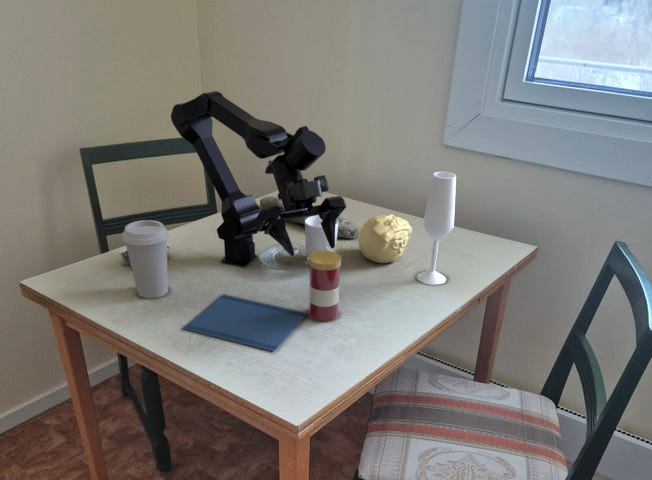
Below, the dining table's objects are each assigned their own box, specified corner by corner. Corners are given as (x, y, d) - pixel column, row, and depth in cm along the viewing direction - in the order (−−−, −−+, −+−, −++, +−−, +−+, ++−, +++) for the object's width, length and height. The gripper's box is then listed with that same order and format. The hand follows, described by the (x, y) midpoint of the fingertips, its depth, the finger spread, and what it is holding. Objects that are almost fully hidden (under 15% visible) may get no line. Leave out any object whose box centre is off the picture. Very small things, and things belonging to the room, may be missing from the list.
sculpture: (383, 272, 151) (387, 228, 145) (348, 256, 158) (350, 214, 152) (415, 259, 157) (420, 217, 151) (379, 244, 165) (383, 203, 159)
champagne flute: (440, 287, 145) (455, 181, 131) (412, 280, 147) (424, 176, 134) (450, 275, 149) (465, 173, 136) (422, 269, 152) (435, 168, 139)
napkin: (183, 329, 128) (183, 327, 128) (223, 295, 140) (223, 294, 140) (273, 351, 121) (273, 350, 121) (307, 314, 133) (307, 313, 133)
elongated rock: (345, 249, 165) (368, 240, 172) (347, 229, 162) (371, 221, 169) (250, 209, 183) (274, 202, 190) (250, 191, 180) (275, 185, 187)
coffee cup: (182, 286, 144) (176, 222, 136) (161, 304, 136) (152, 238, 128) (145, 279, 146) (136, 216, 138) (122, 297, 139) (111, 232, 131)
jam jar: (303, 318, 132) (303, 260, 125) (315, 304, 137) (316, 248, 130) (332, 324, 130) (334, 266, 123) (343, 310, 135) (346, 254, 128)
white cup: (333, 268, 152) (335, 228, 147) (301, 265, 153) (301, 225, 148) (339, 255, 159) (340, 216, 153) (307, 252, 160) (308, 214, 154)
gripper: (258, 168, 122) (283, 242, 120) (344, 156, 129) (368, 227, 127) (245, 196, 133) (267, 265, 130) (325, 184, 140) (347, 249, 137)
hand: (313, 251), depth 131 cm, fingers open, 9 cm apart
